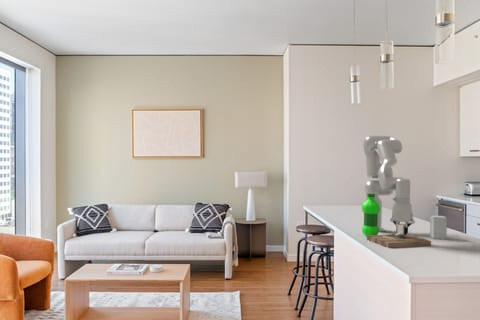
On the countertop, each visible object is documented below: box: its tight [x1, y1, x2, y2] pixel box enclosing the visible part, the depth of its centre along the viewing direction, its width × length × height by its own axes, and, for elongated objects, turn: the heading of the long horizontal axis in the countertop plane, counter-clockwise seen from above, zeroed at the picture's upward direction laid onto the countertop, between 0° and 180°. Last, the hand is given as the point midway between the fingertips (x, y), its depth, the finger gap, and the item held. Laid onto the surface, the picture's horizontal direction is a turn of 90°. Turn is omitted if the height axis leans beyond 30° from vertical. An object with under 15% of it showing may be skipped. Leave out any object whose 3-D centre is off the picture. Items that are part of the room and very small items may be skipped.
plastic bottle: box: [361, 193, 380, 237], centre depth 241 cm, size 10×10×25 cm
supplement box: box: [429, 215, 448, 240], centre depth 239 cm, size 7×7×13 cm
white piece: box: [394, 222, 405, 237], centre depth 225 cm, size 3×13×7 cm, turn 140°
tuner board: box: [366, 233, 432, 249], centre depth 225 cm, size 20×26×3 cm
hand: (402, 233), depth 227 cm, fingers closed on white piece, 3 cm apart
